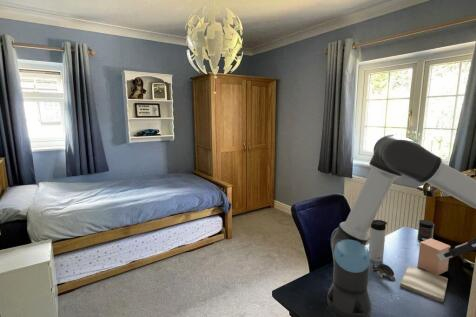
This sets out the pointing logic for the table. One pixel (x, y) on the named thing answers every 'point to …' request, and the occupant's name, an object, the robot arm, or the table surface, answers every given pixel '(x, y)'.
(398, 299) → the table surface
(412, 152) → the robot arm
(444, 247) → the peach squarish block
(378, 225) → the travel mug
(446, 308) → the table surface
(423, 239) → the supplement container
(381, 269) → the eagle figurine
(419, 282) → the birch pad
